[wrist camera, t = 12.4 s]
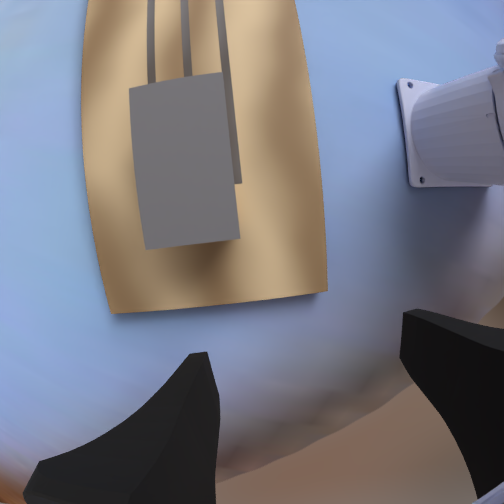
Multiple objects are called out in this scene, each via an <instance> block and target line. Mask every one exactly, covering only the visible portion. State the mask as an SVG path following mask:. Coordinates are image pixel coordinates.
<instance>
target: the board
mask: <svg viewBox="0 0 504 504" xmlns="http://www.w3.org/2000/svg"><path fill="white" fill-rule="evenodd" d="M217 72H223V79H224V89H225V99H226V109H227V119H228V128H229V138H230V147H231V157H232V166H233V175H234V185H235V194H236V203H237V212H238V221H239V230H240V238H241V239H234V240H225V241H217V242H208V243H200V244H192V245H183V246H175V247H167V248H159V249H151V250H146V249H145V244H144V238H143V231H142V225H141V218H140V212H139V204H138V197H137V189H136V180H135V171H134V161H133V151H132V138H131V124H130V105H129V88H133V87H137V86H142V85H146V84H151V83H155V82H160V81H165V80H171V79H176V78H182V77H188V76H195V75H202V74H209V73H217ZM81 119H82V142H83V157H84V169H85V179H86V188H87V196H88V204H89V211H90V218H91V224H92V230H93V236H94V241H95V247H96V252H97V257H98V262H99V266H100V271H101V275H102V280H103V284H104V288H105V292H106V296H107V300H108V304H109V308H110V312H111V314H117V313H132V312H146V311H159V310H171V309H182V308H193V307H203V306H213V305H223V304H232V303H241V302H250V301H258V300H266V299H274V298H282V297H290V296H297V295H304V294H311V293H318V292H325V291H328V282H327V254H326V234H325V218H324V204H323V191H322V179H321V169H320V158H319V149H318V140H317V132H316V123H315V116H314V108H313V101H312V94H311V87H310V81H309V74H308V68H307V62H306V56H305V51H304V45H303V40H302V34H301V29H300V24H299V19H298V15H297V10H296V5H295V1H294V0H89V2H88V8H87V16H86V24H85V33H84V44H83V58H82V80H81Z"/></svg>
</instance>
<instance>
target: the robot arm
mask: <svg viewBox="0 0 504 504" xmlns="http://www.w3.org/2000/svg"><path fill="white" fill-rule="evenodd" d="M494 58H495V60H496V62H497V64H498V65H496V66H493V67H490V68H487V69H484V70H481V71H478V72H475V73H472V74H470V75H467V76H464V77H461V78H458V79H456V80H453V81H450V82H447V83H445V84H442V85H439V84H434V83H429V82H424V81H418V80H412V79H405V78H401V79H399V80H398V81H397V89H398V94H399V100H400V106H401V112H402V119H403V126H404V134H405V142H406V151H407V162H408V175H409V183H410V185H411V186H412V187H462V186H485V187H491V186H492V185H502V186H504V38H503V39H501V40H500V41H499V42H498V43H497V46H496V53H495V54H494ZM407 83H408V84H409V85H410V87H411V88H409V87H408V85H407ZM420 177H421V178H422V183H420ZM400 359H401V361H402V363H403V365H404V367H405V368H406V370H407V372H408V373H409V375H410V377H411V378H412V379H413V381H414V382H415V383H416V384H417V386H418V387H419V388H420V390H421V391H422V392H423V393H424V394H425V396H426V397H427V398H428V400H429V401H430V402H431V403H432V404H433V406H434V407H435V408H436V410H437V411H438V412H439V414H440V415H441V416H442V418H443V419H444V421H445V422H446V424H447V426H448V428H449V429H450V431H451V433H452V435H453V436H454V438H455V440H456V442H457V444H458V447H459V449H460V450H461V453H462V455H463V457H464V460H465V462H466V465H467V467H468V470H469V472H470V475H471V478H472V481H473V484H474V488H475V491H476V494H477V499H478V500H477V501H475V502H473V503H472V504H504V329H500V328H493V327H488V326H483V325H479V324H474V323H470V322H466V321H463V320H459V319H455V318H452V317H448V316H445V315H441V314H438V313H434V312H430V311H426V310H421V309H414V310H410V311H407V312H403V323H402V337H401V348H400ZM219 428H220V399H219V393H218V390H217V386H216V383H215V379H214V375H213V372H212V368H211V364H210V361H209V357H208V353H207V352H200V353H192V354H189V355H188V357H187V358H186V359H185V360H184V361H183V363H182V364H181V365H180V366H179V367H178V369H177V370H176V371H175V372H174V374H173V375H172V376H171V377H170V378H169V379H168V380H167V382H166V383H165V384H164V385H163V386H162V387H161V388H160V389H159V390H158V391H157V392H156V393H155V394H154V395H153V396H152V397H151V398H150V399H149V400H148V401H147V402H146V403H145V404H144V405H143V406H142V407H141V408H140V409H138V410H137V411H136V412H135V413H134V414H132V415H131V416H130V417H129V418H127V419H126V420H125V421H123V422H122V423H120V424H119V425H117V426H116V427H114V428H113V429H111V430H110V431H108V432H107V433H105V434H103V435H102V436H100V437H98V438H96V439H95V440H93V441H91V442H89V443H87V444H85V445H83V446H80V447H78V448H76V449H74V450H71V451H69V452H66V453H63V454H60V455H58V456H55V457H52V458H49V459H45V460H42V461H39V463H38V465H37V467H36V469H35V470H34V472H33V474H32V476H31V478H30V480H29V482H28V484H27V486H26V488H25V490H24V492H23V497H24V499H25V501H26V503H27V504H216V494H215V468H216V458H217V448H218V438H219Z"/></svg>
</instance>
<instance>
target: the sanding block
mask: <svg viewBox="0 0 504 504" xmlns="http://www.w3.org/2000/svg"><path fill="white" fill-rule="evenodd" d="M129 105H130V124H131V138H132V151H133V161H134V171H135V180H136V189H137V197H138V204H139V212H140V218H141V225H142V231H143V238H144V244H145V249H146V250H151V249H159V248H167V247H175V246H183V245H192V244H200V243H208V242H217V241H225V240H234V239H241V238H240V230H239V221H238V212H237V203H236V194H235V185H234V175H233V166H232V157H231V147H230V138H229V128H228V119H227V109H226V99H225V89H224V79H223V72H217V73H209V74H202V75H195V76H188V77H182V78H176V79H171V80H165V81H160V82H155V83H151V84H146V85H142V86H137V87H133V88H129Z"/></svg>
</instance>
